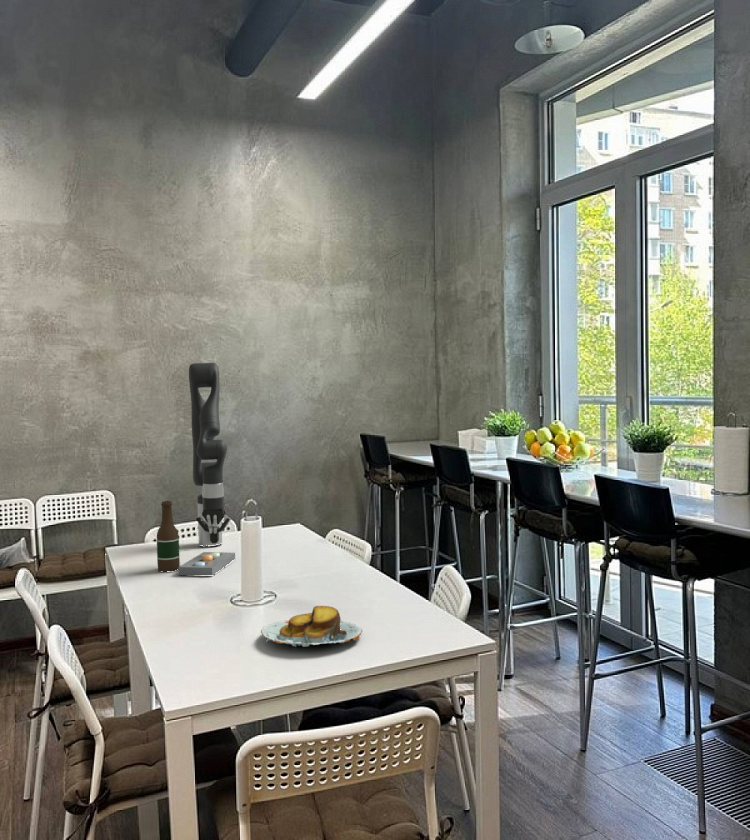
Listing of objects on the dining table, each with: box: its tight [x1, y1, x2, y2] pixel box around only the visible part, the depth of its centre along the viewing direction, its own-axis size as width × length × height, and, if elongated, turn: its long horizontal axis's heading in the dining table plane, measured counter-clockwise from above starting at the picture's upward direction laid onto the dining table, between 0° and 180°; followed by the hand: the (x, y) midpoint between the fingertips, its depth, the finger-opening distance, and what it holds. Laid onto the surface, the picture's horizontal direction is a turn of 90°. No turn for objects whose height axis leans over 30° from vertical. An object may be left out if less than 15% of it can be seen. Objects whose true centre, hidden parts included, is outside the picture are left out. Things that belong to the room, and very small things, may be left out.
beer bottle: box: [156, 500, 181, 573], centre depth 267 cm, size 8×8×24 cm
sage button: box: [210, 551, 220, 557], centre depth 275 cm, size 4×4×3 cm
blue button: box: [194, 562, 205, 566], centre depth 262 cm, size 4×4×3 cm
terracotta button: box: [202, 554, 213, 561], centre depth 269 cm, size 4×4×3 cm
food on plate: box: [260, 605, 363, 648], centre depth 194 cm, size 25×25×7 cm
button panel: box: [177, 551, 236, 576], centre depth 269 cm, size 22×12×3 cm, turn 171°
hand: (214, 543), depth 276 cm, fingers closed
